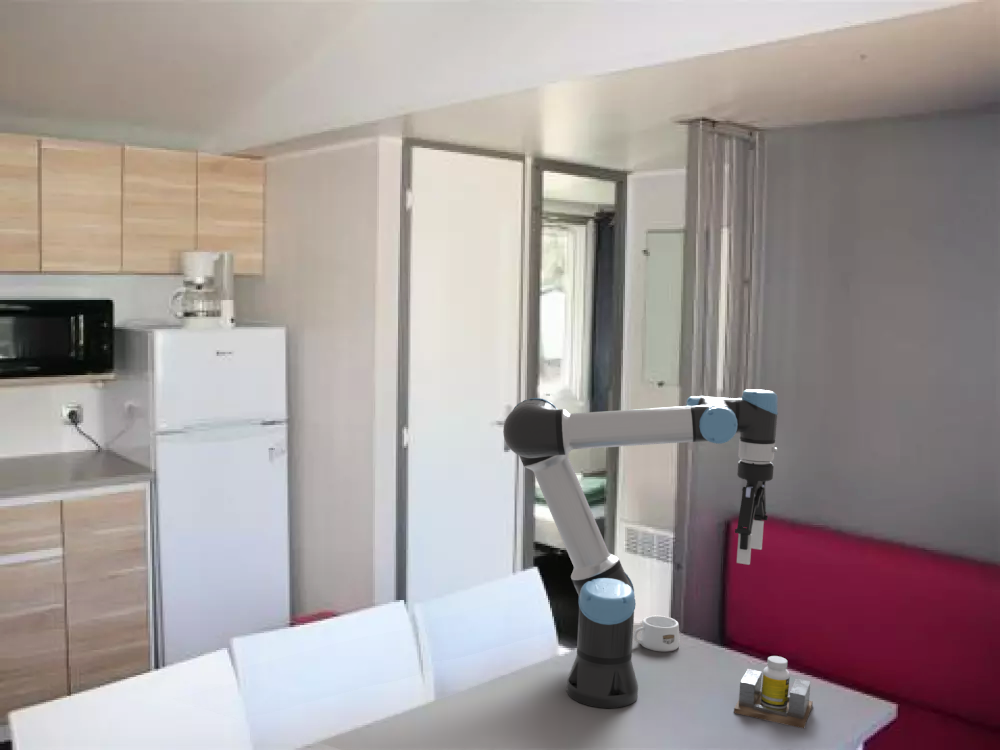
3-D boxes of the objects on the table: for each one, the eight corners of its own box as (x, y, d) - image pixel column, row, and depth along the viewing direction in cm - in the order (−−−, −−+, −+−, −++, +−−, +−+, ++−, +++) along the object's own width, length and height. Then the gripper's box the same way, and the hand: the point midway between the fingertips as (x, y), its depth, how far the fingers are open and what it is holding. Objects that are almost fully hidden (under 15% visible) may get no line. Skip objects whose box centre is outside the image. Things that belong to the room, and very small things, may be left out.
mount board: (733, 712, 201) (734, 708, 201) (745, 691, 212) (745, 687, 212) (804, 728, 195) (804, 723, 195) (812, 705, 206) (812, 701, 206)
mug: (666, 636, 244) (668, 613, 243) (686, 650, 234) (688, 626, 234) (623, 640, 240) (625, 616, 239) (642, 655, 230) (643, 630, 230)
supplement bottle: (788, 711, 200) (792, 666, 199) (761, 708, 201) (764, 662, 200) (786, 700, 206) (789, 656, 205) (759, 697, 207) (763, 653, 206)
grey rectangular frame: (737, 706, 202) (739, 683, 202) (746, 689, 211) (748, 667, 210) (802, 720, 197) (804, 696, 196) (809, 703, 205) (811, 680, 205)
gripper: (763, 472, 200) (756, 573, 202) (783, 454, 222) (776, 545, 224) (726, 467, 203) (719, 567, 205) (749, 450, 225) (743, 540, 227)
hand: (749, 555), depth 214 cm, fingers open, 13 cm apart
